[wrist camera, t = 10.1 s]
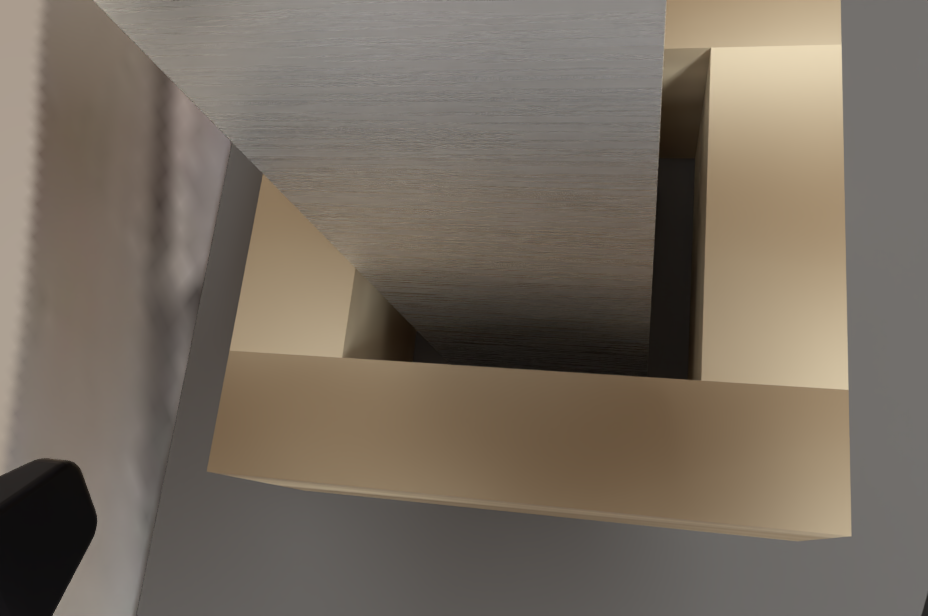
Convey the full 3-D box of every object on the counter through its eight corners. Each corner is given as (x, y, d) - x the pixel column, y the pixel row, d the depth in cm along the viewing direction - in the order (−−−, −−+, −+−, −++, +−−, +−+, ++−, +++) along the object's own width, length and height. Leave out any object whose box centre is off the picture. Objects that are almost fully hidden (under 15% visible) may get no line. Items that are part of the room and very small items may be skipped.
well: (796, 541, 15) (851, 536, 11) (302, 490, 17) (206, 471, 13) (795, 73, 17) (839, -61, 14) (367, 80, 19) (301, -34, 16)
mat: (992, 823, 14) (1014, 838, 13) (144, 681, 17) (122, 686, 16) (939, -73, 18) (952, -100, 18) (285, -39, 22) (273, -60, 21)
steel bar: (646, 378, 16) (671, -99, 4) (450, 364, 17) (33, -61, 5) (656, 192, 17) (697, -592, 5) (471, 188, 18) (163, -491, 6)
